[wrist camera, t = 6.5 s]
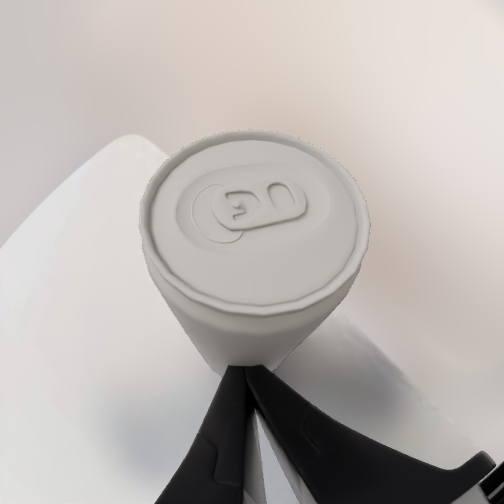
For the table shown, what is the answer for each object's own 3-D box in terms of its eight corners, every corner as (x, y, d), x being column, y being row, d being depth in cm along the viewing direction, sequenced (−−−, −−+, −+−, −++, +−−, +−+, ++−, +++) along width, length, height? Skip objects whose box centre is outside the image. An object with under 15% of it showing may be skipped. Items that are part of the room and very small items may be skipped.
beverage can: (192, 314, 16) (128, 149, 6) (270, 293, 17) (314, 117, 7) (214, 393, 14) (150, 359, 4) (297, 368, 15) (418, 273, 5)
